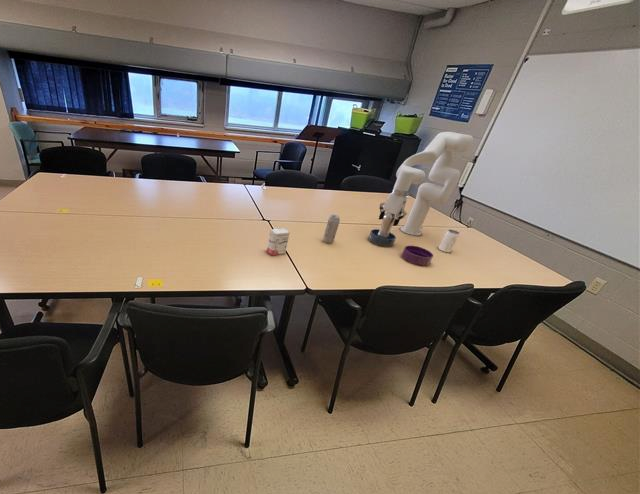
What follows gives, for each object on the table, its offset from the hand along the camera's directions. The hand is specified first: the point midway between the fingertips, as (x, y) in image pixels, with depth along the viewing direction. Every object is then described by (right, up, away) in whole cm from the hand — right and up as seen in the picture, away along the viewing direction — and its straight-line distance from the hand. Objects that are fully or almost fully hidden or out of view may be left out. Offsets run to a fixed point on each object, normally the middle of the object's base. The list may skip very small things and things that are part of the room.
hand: (387, 222), depth 180 cm
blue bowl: (-1, -10, +7) cm, 12 cm away
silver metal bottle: (-1, -10, +7) cm, 12 cm away
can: (+37, -15, +8) cm, 41 cm away
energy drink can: (-35, -11, -2) cm, 37 cm away
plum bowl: (+11, -22, -9) cm, 26 cm away
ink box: (-66, -20, -21) cm, 72 cm away
